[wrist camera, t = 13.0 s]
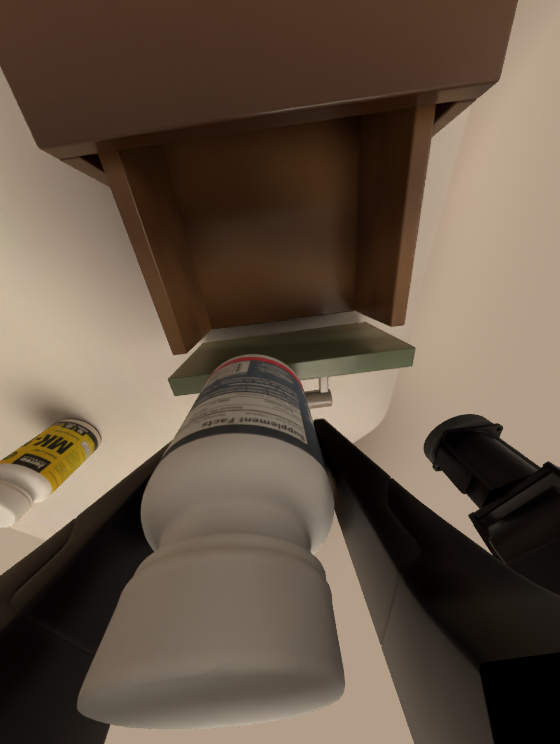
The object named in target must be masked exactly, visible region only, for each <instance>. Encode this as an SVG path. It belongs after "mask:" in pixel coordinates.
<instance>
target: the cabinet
mask: <svg viewBox="0 0 560 744" xmlns="http://www.w3.org/2000/svg"><path fill="white" fill-rule="evenodd" d="M517 2H518V0H0V67H1V69H2V71H3V73H4V75H5V78H6V80H7V82H8V84H9V86H10V88H11V91H12V93H13V95H14V97H15V99H16V101H17V103H18V106H19V108H20V110H21V112H22V114H23V116H24V119H25V121H26V123H27V125H28V127H29V129H30V131H31V134H32V136H33V138H34V140H35V142H36V144H37V146H38V147H39V148H40V149H41V150H43V151H45V152H47V153H48V154H50V155H52V156H54V157H56V158H58V159H60V161H62V162H64V163H66V164H68V165H70V166H72V167H73V168H75V169H77V170H79V171H81V172H83V173H85V174H86V175H88V176H90V177H92V178H94V179H96V180H98V181H99V182H101V183H103V184H105V185H107V186H109V187H110V185H109V183H108V180H107V177H106V175H105V172H104V169H103V167H102V164H101V161H100V159H99V156H98V153H103V152H110V151H117V150H124V149H131V148H138V147H144V146H151V145H158V144H165V143H172V142H179V141H185V140H192V139H199V138H206V137H213V136H220V135H227V134H233V133H240V132H247V131H254V130H261V129H268V128H274V127H281V126H288V125H295V124H302V123H309V122H316V121H322V120H329V119H336V118H343V117H350V116H357V115H364V114H370V113H377V112H384V111H391V110H398V109H405V108H411V107H418V106H425V105H432V104H436V110H435V117H434V124H433V131H432V137H433V136H434V135H435V134H436V133H438V132H439V131H440V130H441V129H442V128H444V127H445V126H446V125H447V124H448V123H449V122H451V121H452V120H453V119H454V118H455V117H457V116H458V115H459V114H460V113H461V112H462V111H464V110H465V109H466V108H467V107H468V106H470V105H471V104H472V103H473V102H474V101H475V100H476V99H477V98H479V97H480V96H481V95H483V94H484V93H485V92H486V91H487V90H489V88H491V87H492V86H493V85H494V84H496V83H497V82H498V81H499V79H500V76H501V72H502V68H503V63H504V59H505V55H506V50H507V46H508V41H509V37H510V33H511V28H512V24H513V20H514V15H515V11H516V7H517Z"/></svg>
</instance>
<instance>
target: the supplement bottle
mask: <svg viewBox="0 0 560 744" xmlns="http://www.w3.org/2000/svg"><path fill="white" fill-rule="evenodd" d="M100 443H101V439H100V436H99V434H98V432H97V431H96V430H95V429H94V428H93V427H92V426H91V425H89V424H87V423H85V422H83V421H80V420H74V419H66V420H61V421H59V422H57V423H55V424H54V425H52V426H51V427H49V428H48V429H46V430H45V431H43V432H42V433H40V434H39V435H38V436H36V437H35V438H33V439H32V440H30V441H29V442H27V443H26V444H24V445H23V446H21V447H20V448H19V449H17V450H16V451H14V452H13V453H11V454H10V455H8V456H7V457H5V458H4V459H2V460H1V461H0V528H4V527H9V526H11V525H13V524H14V523H15V522H16V521H17V520H18V519H19V518H20V517H22V516H23V515H24V514H25V513H26V512H27V511H28V510H29V509H30V508H31V507H32V505H33V504H35V503H38V502H41V501H43V500H45V499H46V498H47V497H49V496H50V495H51V494H52V493H53V492H54V491H55V490H56V489H57V488H58V487H59V486H60V485H61V484H62V483H63V482H64V481H65V480H66V479H67V478H68V477H69V476H70V475H71V474H72V473H73V472H74V471H75V470H76V469H77V468H78V467H79V466H80V465H81V464H82V463H83V462H84V461H85V460H86V459H87V458H88V457H89V456H90V455H91V454H92V453H93V452H94V451H95V450H96V449H97V448H98V447H99V445H100Z"/></svg>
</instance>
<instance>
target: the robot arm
mask: <svg viewBox="0 0 560 744" xmlns="http://www.w3.org/2000/svg"><path fill="white" fill-rule="evenodd" d="M314 427H315V431H316V434H317V438H318V441H319V444H320V448H321V451H322V454H323V458H324V461H325V464H326V468H327V472H328V475H329V479H330V483H331V487H332V491H333V497H334V510H335V513H336V515H337V519H338V522H339V524H340V527H341V530H342V533H343V536H344V539H345V542H346V545H347V548H348V550H349V554H350V557H351V560H352V563H353V565H354V568H355V571H356V574H357V577H358V580H359V583H360V586H361V589H362V592H363V595H364V598H365V601H366V603H367V606H368V609H369V612H370V615H371V618H372V621H373V624H374V626H375V630H376V633H377V635H378V638H379V642H380V644H381V645H382V650H383V653H384V656H385V659H386V662H387V665H388V668H389V671H390V674H391V677H392V679H393V683H394V686H395V689H396V691H397V694H398V697H399V700H400V703H401V706H402V709H403V711H404V715H405V718H406V721H407V724H408V727H409V729H410V732H411V735H412V738H413V741H414V744H560V467H558V466H556V465H554V464H552V463H550V462H549V461H548V462H546V463H545V464H543V467H541V468H540V467H539V466H538V465H536V464H535V463H534V462H532V461H531V460H529V459H528V458H527V457H525V456H524V455H522V454H521V453H520V452H518V451H517V450H515V449H514V448H513V447H511V446H510V445H508V444H507V443H506V442H504V441H503V440H502V439H500V438H499V436H500V434H501V432H502V430H503V427H502V426H501V425H500V424H498V423H497V424H487V425H479V426H471V427H463V428H454V429H447V430H445V431H443V433H442V436H441V439H440V443H439V446H438V449H437V453H436V456H435V459H434V463H433V468H434V470H435V471H443V472H444V473H445V474H446V476H447V477H448V478H449V479H450V480H451V481H452V483H453V484H454V485H455V486H456V487H457V488H458V489H459V491H461V493H463V494H467V495H468V496H469V497H470V498H471V500H472V501H473V502H474V503H475V504H476V505H477V506H478V507H479V510H477V511H476V512H474V513H473V512H472V513H471V514H469V515H468V516H469V518H470V519H471V521H472V523H473V524H474V527H475V528H476V530H477V532H478V533H479V535H480V536H481V538H482V539H483V541H484V542H485V544H486V545H487V547H488V549H489V550H490V552H491V553H492V555H491V554H490V553H488V552H487V551H486V550H484V549H483V548H482V547H480V546H479V545H478V544H476V543H475V542H474V541H472V540H471V539H470V538H468V537H467V536H465V535H464V534H463V533H461V532H460V531H459V530H457V529H456V528H455V527H453V526H452V525H450V524H449V523H447V522H446V521H445V520H444V519H442V518H441V517H440V516H438V515H437V514H436V513H434V512H433V511H432V510H431V509H429V508H428V507H427V506H425V505H424V504H422V503H421V502H420V501H419V500H418V499H416V498H415V497H414V496H413V495H412V494H410V493H409V492H408V491H407V490H406V489H404V488H403V487H402V486H401V485H400V484H399V483H397V482H396V481H395V480H394V479H393V478H391V477H390V476H389V475H388V474H387V473H386V472H385V471H383V470H382V469H381V468H380V467H379V466H378V465H377V464H375V463H374V462H373V461H372V460H371V459H370V458H369V457H367V456H366V455H365V454H364V453H363V452H362V451H360V450H359V449H358V448H357V447H356V446H355V445H354V444H352V443H351V442H350V441H349V440H348V439H347V438H346V437H344V436H343V435H342V434H341V433H340V432H339V431H337V430H336V429H335V428H334V427H333V426H332V425H331V424H329V423H328V422H327V421H326V420H325V419H315V420H314ZM171 442H172V441H171ZM171 442H169V443H168V444H167V445H166V446H164V447H163V448H162V449H161V450H159V451H158V452H157V453H156V454H154V455H153V456H152V457H151V458H149V459H148V460H147V461H146V462H144V463H143V464H142V465H141V466H139V467H138V468H137V469H136V470H134V471H133V472H132V473H131V474H129V475H128V476H127V477H126V478H124V479H123V480H122V481H121V482H119V483H118V484H117V485H116V486H114V487H113V488H112V489H111V490H109V491H108V492H107V493H106V494H104V495H103V496H102V497H101V498H99V499H98V500H97V501H96V502H94V503H93V504H92V505H91V506H89V507H88V508H87V509H86V510H84V511H83V512H82V513H81V514H79V515H78V516H77V518H75V519H73V520H72V521H71V522H69V523H68V524H67V525H66V526H64V527H63V528H62V529H61V530H59V531H58V532H57V533H56V534H54V535H53V536H52V537H51V538H49V539H48V540H47V541H45V542H44V543H43V544H42V545H40V546H39V547H38V548H37V549H35V550H34V551H33V552H31V553H30V554H29V555H28V556H26V557H25V558H23V559H22V560H21V561H19V562H18V563H17V564H15V565H14V566H13V567H11V568H10V569H9V570H7V571H6V572H4V573H3V574H2V575H0V744H104V743H105V740H106V736H107V733H108V730H109V727H110V724H107V723H103V722H99V721H96V720H93V719H91V718H88V717H86V716H84V715H82V714H81V713H80V712H79V711H78V709H77V700H78V696H79V693H80V690H81V688H82V685H83V682H84V680H85V677H86V675H87V673H88V670H89V668H90V666H91V664H92V661H93V659H94V657H95V655H96V652H97V650H98V648H99V646H100V643H101V641H102V639H103V636H104V634H105V632H106V630H107V627H108V625H109V623H110V621H111V618H112V616H113V614H114V611H115V609H116V607H117V604H118V601H119V599H120V596H121V593H122V591H123V590H124V588H125V586H126V585H127V583H128V582H129V581H130V580H131V579H132V578H133V577H134V574H135V572H136V570H137V569H138V567H139V565H140V564H141V563H142V562H143V561H144V560H145V559H146V558H147V557H148V556H150V555H151V554H152V553H154V551H153V549H152V548H151V546H150V545H149V543H148V541H147V539H146V537H145V534H144V531H143V527H142V522H141V503H142V499H143V494H144V492H145V489H146V487H147V484H148V482H149V480H150V478H151V476H152V474H153V472H154V470H155V469H156V467H157V465H158V463H159V461H160V459H161V458H162V456H163V454H164V453H165V451H166V450H167V448H168V447H169V445H170V444H171ZM390 478H391V479H390Z"/></svg>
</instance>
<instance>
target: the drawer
mask: <svg viewBox="0 0 560 744" xmlns="http://www.w3.org/2000/svg"><path fill="white" fill-rule="evenodd" d="M435 110H436V104H432V105H425V106H418V107H411V108H405V109H398V110H391V111H384V112H377V113H370V114H364V115H357V116H350V117H343V118H336V119H329V120H322V121H316V122H309V123H302V124H295V125H288V126H281V127H274V128H268V129H261V130H254V131H247V132H240V133H233V134H227V135H220V136H213V137H206V138H199V139H192V140H185V141H179V142H172V143H165V144H158V145H151V146H144V147H138V148H131V149H124V150H117V151H110V152H103V153H98V156H99V159H100V161H101V164H102V167H103V169H104V172H105V175H106V177H107V180H108V183H109V185H110V188H111V191H112V193H113V196H114V199H115V201H116V204H117V207H118V209H119V212H120V215H121V217H122V220H123V223H124V225H125V228H126V231H127V233H128V236H129V239H130V241H131V244H132V247H133V249H134V252H135V255H136V257H137V260H138V263H139V265H140V268H141V271H142V273H143V276H144V279H145V281H146V284H147V287H148V289H149V292H150V295H151V297H152V300H153V303H154V305H155V308H156V311H157V313H158V316H159V319H160V321H161V324H162V327H163V329H164V332H165V335H166V337H167V340H168V343H169V345H170V348H171V351H172V353H173V355H179V354H186V353H187V352H189V351H190V350H191V349H192V348H193V347H194V346H195V345H196V344H197V343H198V342H199V341H200V340H201V339H202V338H203V337H204V336H205V335H206V334H207V333H209V332H210V331H211V330H212V329H219V328H226V327H234V326H242V325H249V324H257V323H264V322H272V321H280V320H287V319H295V318H303V317H310V316H318V315H325V314H333V313H341V312H348V311H356V312H359V313H361V314H363V315H365V316H368V317H370V318H372V319H374V320H377V321H379V322H381V323H384V324H386V325H388V326H390V327H393V326H401V325H404V323H405V316H406V309H407V302H408V296H409V289H410V282H411V275H412V268H413V261H414V254H415V247H416V241H417V234H418V227H419V220H420V213H421V206H422V199H423V192H424V186H425V179H426V172H427V165H428V158H429V151H430V144H431V138H432V131H433V124H434V117H435ZM414 353H415V347H413V346H411V345H410V344H408V343H406V342H404V341H402V340H400V339H398V338H396V337H394V336H392V335H390V334H388V333H386V332H384V331H382V330H380V329H378V328H376V327H374V326H372V325H370V324H368V323H367V322H363V323H355V324H347V325H340V326H332V327H324V328H316V329H309V330H301V331H293V332H286V333H278V334H270V335H263V336H255V337H247V338H240V339H232V340H224V341H217V342H209V343H203V344H202V345H201V346H200V347H199V348H198V349H197V350H196V351H195V352H194V353H193V354H192V355H191V356H190V357H189V358H188V359H187V360H186V361H185V362H184V363H183V364H182V365H181V366H180V367H179V368H178V369H177V370H176V371H175V372H174V373H173V374H172V375H171V376H170V377H169V378H168V381H169V384H170V386H171V388H172V391H173V393H174V396H180V395H188V394H196V393H201V391H202V389H203V387H204V386H205V384H206V382H207V380H208V379H209V377H210V376H211V375H212V373H213V372H214V371H215V370H216V369H217V368H218V367H219V366H220V365H221V364H223V363H224V362H226V361H228V360H230V359H232V358H234V357H238V356H241V355H248V354H258V355H265V356H269V357H272V358H275V359H277V360H279V361H281V362H283V363H284V364H286V365H287V366H288V367H289V368H291V369H292V370H293V371H294V373H295V374H296V375H297V377H298V378H299V380H306V379H314V378H319V390H314V391H306V392H304V393H305V396H306V400H307V403H308V407H309V409H312V408H320V407H328V406H332V395H331V392H330V390H329V389H328V377H330V376H338V375H346V374H354V373H362V372H370V371H378V370H385V369H393V368H401V367H409V366H412V365H413V359H414Z"/></svg>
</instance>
